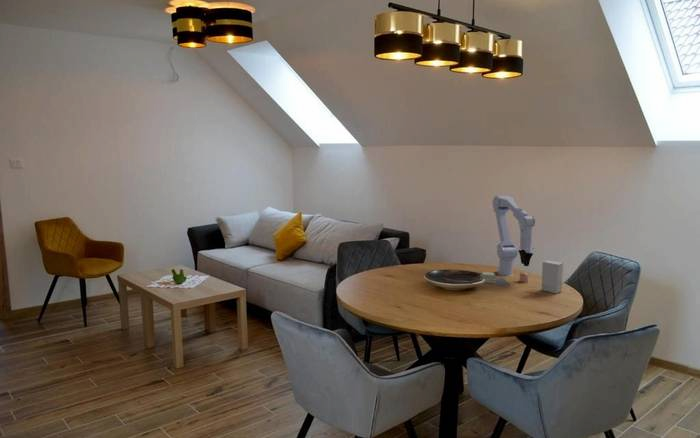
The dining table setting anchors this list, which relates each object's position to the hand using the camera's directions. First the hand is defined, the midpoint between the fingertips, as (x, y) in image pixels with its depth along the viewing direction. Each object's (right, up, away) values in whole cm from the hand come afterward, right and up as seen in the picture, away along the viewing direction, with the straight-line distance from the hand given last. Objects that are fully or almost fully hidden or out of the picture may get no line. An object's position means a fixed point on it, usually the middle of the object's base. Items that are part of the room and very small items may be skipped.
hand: (524, 264), depth 278 cm
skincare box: (+9, -12, -13) cm, 20 cm away
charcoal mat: (-19, -9, 0) cm, 21 cm away
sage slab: (-19, -7, 0) cm, 20 cm away
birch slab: (-19, -9, 0) cm, 21 cm away
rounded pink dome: (0, -10, +2) cm, 10 cm away
